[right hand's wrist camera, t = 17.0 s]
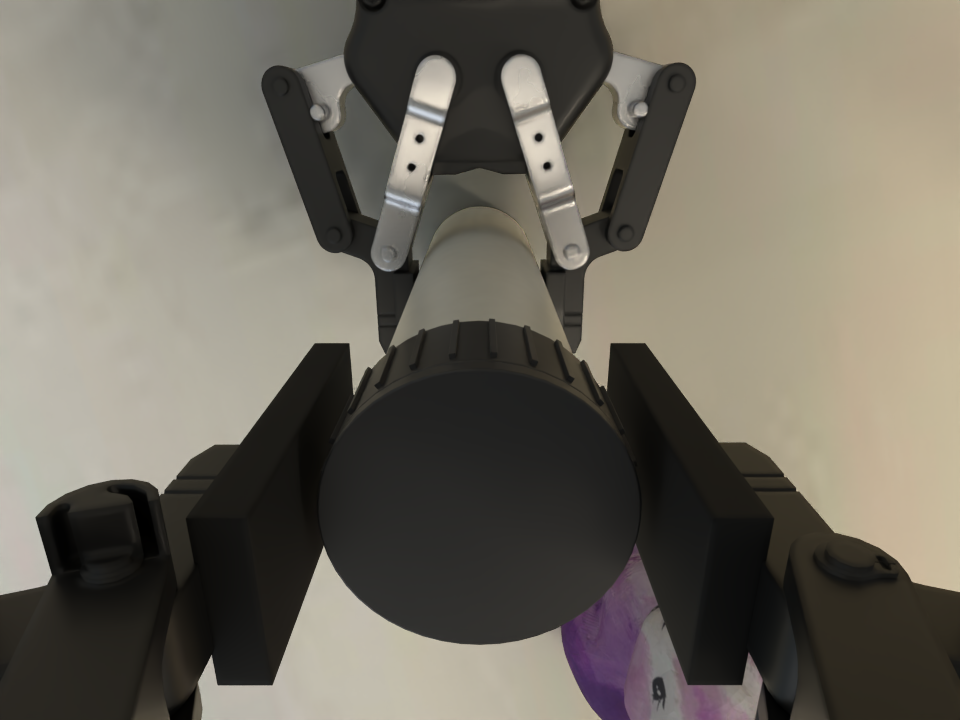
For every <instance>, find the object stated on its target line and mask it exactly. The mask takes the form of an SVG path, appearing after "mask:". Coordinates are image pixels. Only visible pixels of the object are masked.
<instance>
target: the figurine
mask: <svg viewBox="0 0 960 720" xmlns="http://www.w3.org/2000/svg"><path fill="white" fill-rule="evenodd" d="M561 633H562V642H563V647H564V651H565V655H566V658H567V660H568V663H569V666H570V668H571V670H572V673H573V675H574V677H575V679H576V682H577V684H578V686H579V688H580V690H581V692H582V694H583V695H584V697H585V699H586V700H587V702H588V703H589V705H590V706H591V708H592V709H593V710H594V711H595V712H596V713H597V714H598V716H599V717H600V718H601V719H602V720H755V715H756V710H757V705H758V700H759V696H760V691H761V686H762V681H763V679H762V677H761V675H760V673H759V671H758V669H757V667H756V665H755V663H754V661H753V659H752V657H751V655H750V653H748V658H747V663H746V669H745V674H744V679H743V684H742V685H687V682H686V680H685V677H684V674H683V671H682V669H681V666H680V663H679V660H678V658H677V655H676V652H675V650H674V647H673V644H672V641H671V639H670V636H669V633H668V631H667V628H666V625H665V622H664V620H663V617H662V614H661V611H660V609H659V606H658V603H657V601H656V598H655V595H654V592H653V590H652V587H651V584H650V582H649V579H648V576H647V573H646V571H645V568H644V565H643V562H642V560H641V557H640V554H639V552H638V549H637V546H636V543H635V546H634V549H633V552H632V554H631V556H630V558H629V560H628V562H627V564H626V566H625V568H624V570H623V571H622V573H621V574H620V576H619V577H618V579H617V580H616V581H615V583H614V584H613V585H612V586H611V588H610V589H609V590H608V591H607V592H606V593H605V594H604V595H603V596H602V598H600V599H599V600H598V601H597V602H596V603H595V604H593V605H592V606H591V607H590V608H589V609H588V610H586V611H585V612H583V613H582V614H580V615H579V616H577V617H576V618H574V619H573V620H571V621H569V622H567V623H565V624H563V625H561Z"/></svg>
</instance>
